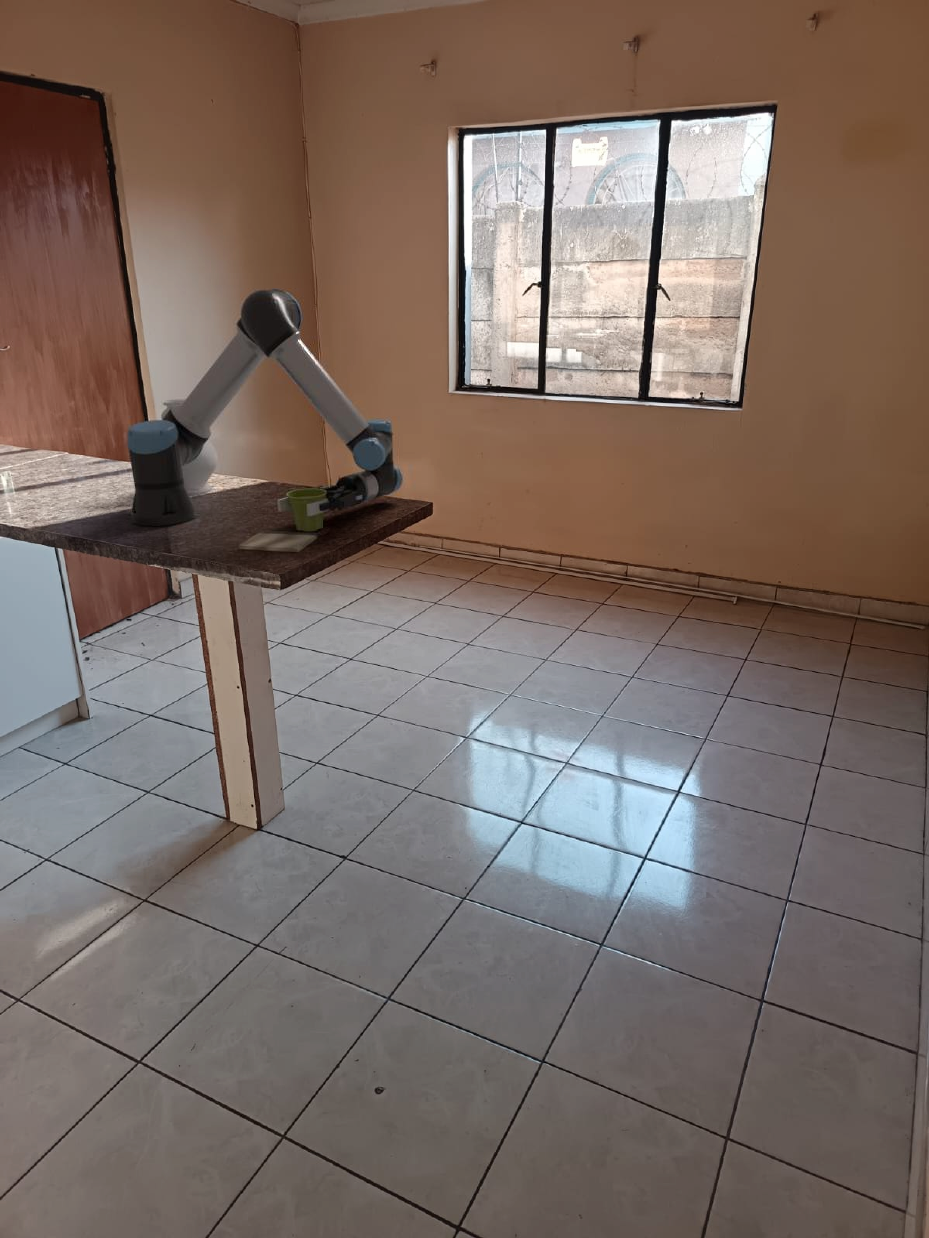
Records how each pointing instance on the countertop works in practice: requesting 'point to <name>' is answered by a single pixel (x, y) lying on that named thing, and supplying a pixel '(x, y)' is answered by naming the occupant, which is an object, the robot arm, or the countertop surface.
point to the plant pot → (299, 508)
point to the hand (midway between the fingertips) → (293, 508)
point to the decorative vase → (196, 462)
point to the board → (279, 541)
